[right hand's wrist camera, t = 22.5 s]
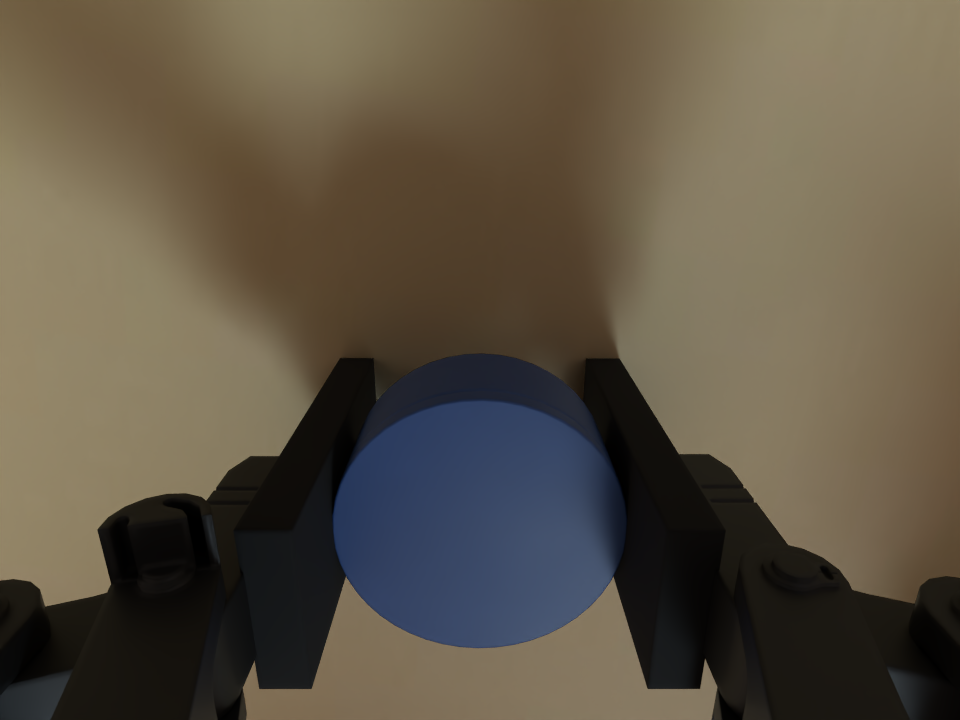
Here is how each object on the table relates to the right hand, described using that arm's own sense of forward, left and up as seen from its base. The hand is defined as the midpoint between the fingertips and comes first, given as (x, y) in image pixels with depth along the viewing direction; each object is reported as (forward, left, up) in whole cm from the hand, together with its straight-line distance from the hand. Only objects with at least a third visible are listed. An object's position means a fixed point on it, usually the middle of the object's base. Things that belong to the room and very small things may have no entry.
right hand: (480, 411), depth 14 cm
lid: (0, 0, +4) cm, 4 cm away
